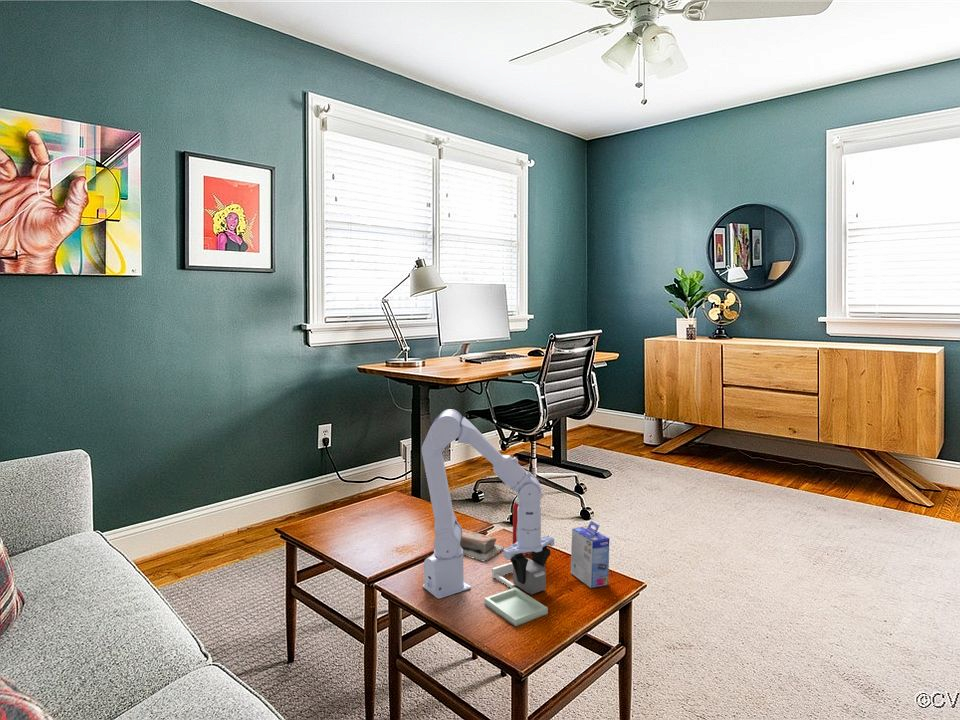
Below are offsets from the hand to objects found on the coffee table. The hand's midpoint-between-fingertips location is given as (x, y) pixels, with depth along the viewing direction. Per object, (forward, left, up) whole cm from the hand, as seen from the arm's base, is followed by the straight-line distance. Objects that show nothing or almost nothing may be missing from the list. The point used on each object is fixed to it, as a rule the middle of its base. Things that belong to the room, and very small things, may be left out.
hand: (529, 579), depth 150 cm
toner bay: (0, +6, -2) cm, 6 cm away
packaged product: (+1, +29, -3) cm, 29 cm away
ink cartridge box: (+15, -5, -2) cm, 17 cm away
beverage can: (+12, +18, -2) cm, 22 cm away
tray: (-9, -6, -2) cm, 11 cm away
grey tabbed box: (0, 0, -2) cm, 2 cm away
